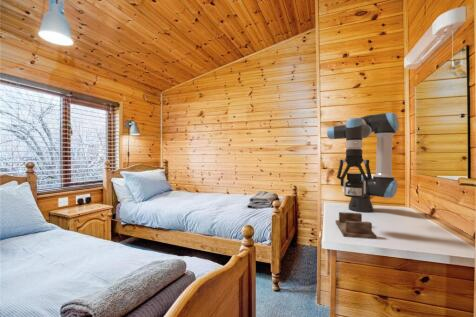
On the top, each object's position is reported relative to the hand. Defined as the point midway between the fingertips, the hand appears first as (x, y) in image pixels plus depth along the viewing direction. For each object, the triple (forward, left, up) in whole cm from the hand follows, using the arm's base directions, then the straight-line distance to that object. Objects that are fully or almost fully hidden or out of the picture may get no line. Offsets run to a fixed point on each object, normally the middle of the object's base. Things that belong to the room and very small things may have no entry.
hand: (353, 192), depth 120 cm
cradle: (0, 0, -19) cm, 19 cm away
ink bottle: (0, 0, -2) cm, 2 cm away
